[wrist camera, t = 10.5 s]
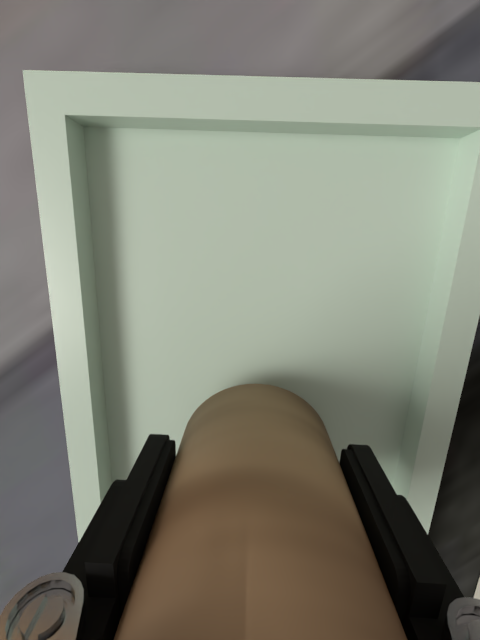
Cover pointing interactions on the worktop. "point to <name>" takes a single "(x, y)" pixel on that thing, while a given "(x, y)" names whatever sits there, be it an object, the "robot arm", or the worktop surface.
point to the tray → (258, 258)
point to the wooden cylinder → (258, 534)
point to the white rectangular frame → (477, 591)
